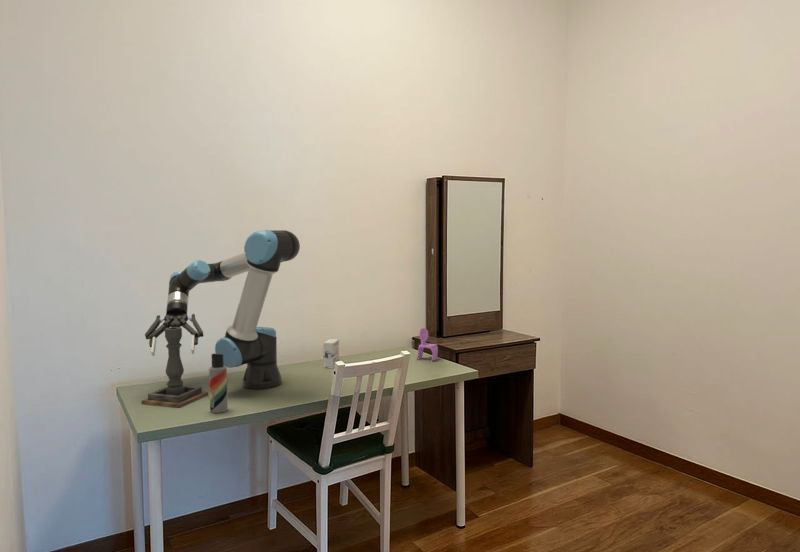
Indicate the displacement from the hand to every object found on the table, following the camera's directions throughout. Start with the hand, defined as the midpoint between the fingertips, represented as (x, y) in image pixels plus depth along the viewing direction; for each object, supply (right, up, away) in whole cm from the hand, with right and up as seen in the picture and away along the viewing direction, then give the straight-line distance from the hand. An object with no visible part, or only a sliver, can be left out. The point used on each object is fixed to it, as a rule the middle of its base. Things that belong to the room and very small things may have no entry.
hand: (172, 352), depth 203 cm
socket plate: (+1, -17, +1) cm, 17 cm away
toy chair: (+96, -12, +63) cm, 115 cm away
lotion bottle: (+21, -18, -12) cm, 30 cm away
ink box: (+52, -13, +50) cm, 73 cm away
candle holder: (+1, -16, +1) cm, 16 cm away
